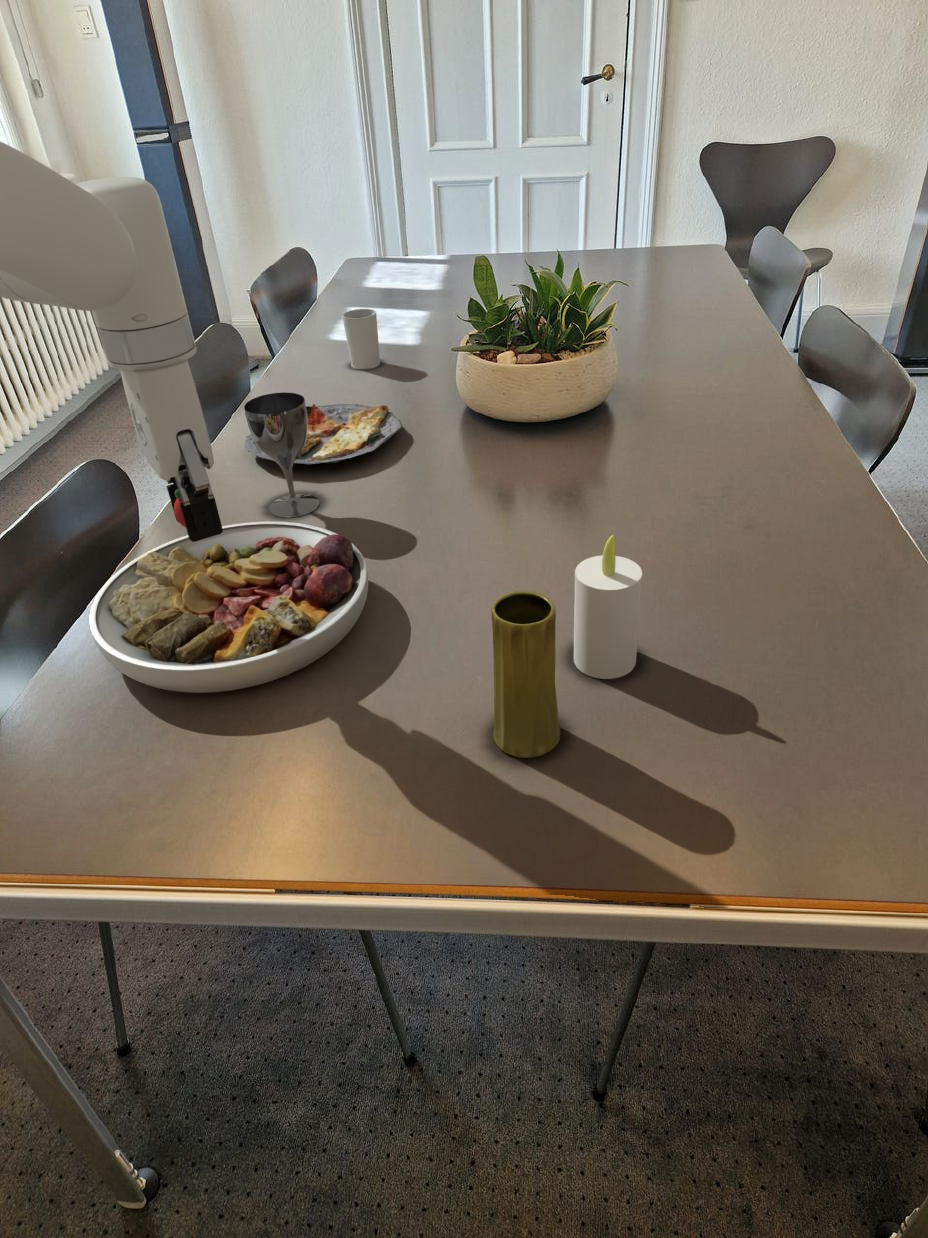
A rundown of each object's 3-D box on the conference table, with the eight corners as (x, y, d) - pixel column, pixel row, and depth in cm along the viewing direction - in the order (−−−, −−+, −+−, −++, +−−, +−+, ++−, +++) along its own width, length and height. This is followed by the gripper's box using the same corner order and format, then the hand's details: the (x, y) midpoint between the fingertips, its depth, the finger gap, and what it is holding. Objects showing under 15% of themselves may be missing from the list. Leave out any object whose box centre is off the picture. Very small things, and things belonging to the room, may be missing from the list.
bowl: (119, 747, 80) (93, 682, 76) (90, 596, 103) (69, 540, 99) (412, 652, 90) (404, 589, 85) (326, 533, 113) (317, 479, 108)
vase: (552, 764, 75) (551, 633, 67) (485, 753, 77) (477, 623, 68) (566, 719, 80) (567, 591, 72) (503, 709, 81) (497, 583, 73)
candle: (616, 634, 90) (622, 507, 82) (647, 669, 85) (658, 538, 76) (562, 649, 89) (563, 522, 80) (591, 685, 83) (595, 553, 75)
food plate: (303, 410, 151) (300, 390, 149) (422, 420, 143) (421, 400, 141) (222, 468, 132) (217, 446, 130) (354, 484, 124) (351, 461, 122)
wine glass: (334, 499, 121) (317, 397, 112) (296, 523, 115) (276, 418, 107) (292, 488, 125) (273, 389, 116) (254, 511, 119) (231, 408, 111)
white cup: (385, 366, 168) (379, 315, 162) (352, 372, 167) (345, 320, 161) (378, 357, 173) (372, 306, 168) (346, 362, 172) (339, 311, 166)
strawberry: (186, 544, 81) (175, 502, 79) (175, 528, 84) (164, 488, 82) (227, 532, 83) (217, 491, 81) (215, 517, 86) (205, 477, 84)
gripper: (85, 327, 78) (141, 507, 88) (125, 374, 66) (185, 576, 76) (167, 311, 81) (212, 487, 91) (219, 353, 68) (264, 550, 79)
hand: (199, 525), depth 83 cm, fingers closed on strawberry, 3 cm apart
